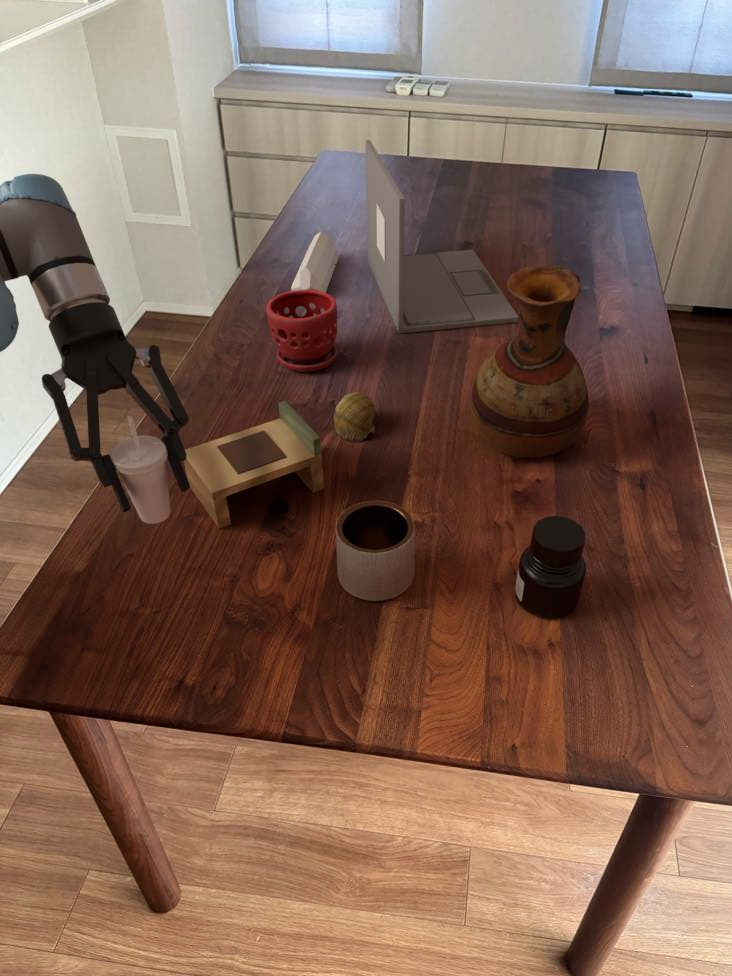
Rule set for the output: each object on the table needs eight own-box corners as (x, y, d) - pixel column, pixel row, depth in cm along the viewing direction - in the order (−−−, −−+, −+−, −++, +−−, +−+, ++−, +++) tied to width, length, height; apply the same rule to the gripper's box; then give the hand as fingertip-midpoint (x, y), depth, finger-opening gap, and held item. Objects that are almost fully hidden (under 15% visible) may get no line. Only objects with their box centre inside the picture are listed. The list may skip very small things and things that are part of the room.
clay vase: (450, 449, 135) (461, 281, 114) (492, 391, 148) (509, 232, 128) (561, 481, 129) (594, 310, 108) (594, 418, 142) (629, 255, 122)
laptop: (518, 322, 168) (534, 190, 149) (397, 334, 163) (398, 199, 145) (472, 255, 193) (481, 134, 174) (367, 263, 188) (364, 140, 170)
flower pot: (346, 346, 160) (343, 290, 151) (330, 380, 150) (326, 322, 142) (283, 340, 161) (277, 284, 153) (264, 373, 152) (256, 316, 144)
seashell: (369, 455, 140) (396, 420, 137) (345, 448, 134) (373, 411, 131) (338, 422, 144) (364, 387, 142) (314, 413, 138) (340, 377, 136)
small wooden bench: (218, 528, 119) (208, 476, 113) (189, 486, 127) (177, 434, 120) (324, 488, 127) (320, 437, 120) (290, 450, 134) (285, 400, 127)
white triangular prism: (330, 287, 170) (346, 242, 188) (300, 269, 168) (320, 225, 186) (315, 313, 175) (332, 267, 192) (285, 297, 173) (306, 251, 190)
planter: (341, 608, 108) (338, 557, 102) (334, 553, 116) (331, 503, 109) (420, 599, 109) (422, 549, 103) (407, 545, 117) (408, 496, 111)
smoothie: (182, 494, 101) (160, 401, 91) (180, 528, 96) (156, 434, 87) (130, 499, 100) (102, 406, 90) (126, 533, 95) (96, 439, 86)
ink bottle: (538, 563, 115) (549, 500, 107) (591, 592, 111) (608, 528, 103) (500, 601, 109) (509, 537, 101) (555, 632, 105) (569, 569, 97)
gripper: (157, 305, 99) (228, 477, 100) (-6, 346, 91) (73, 532, 92) (164, 281, 92) (239, 466, 93) (-12, 323, 84) (73, 524, 85)
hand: (156, 499), depth 93 cm, fingers closed on smoothie, 6 cm apart
